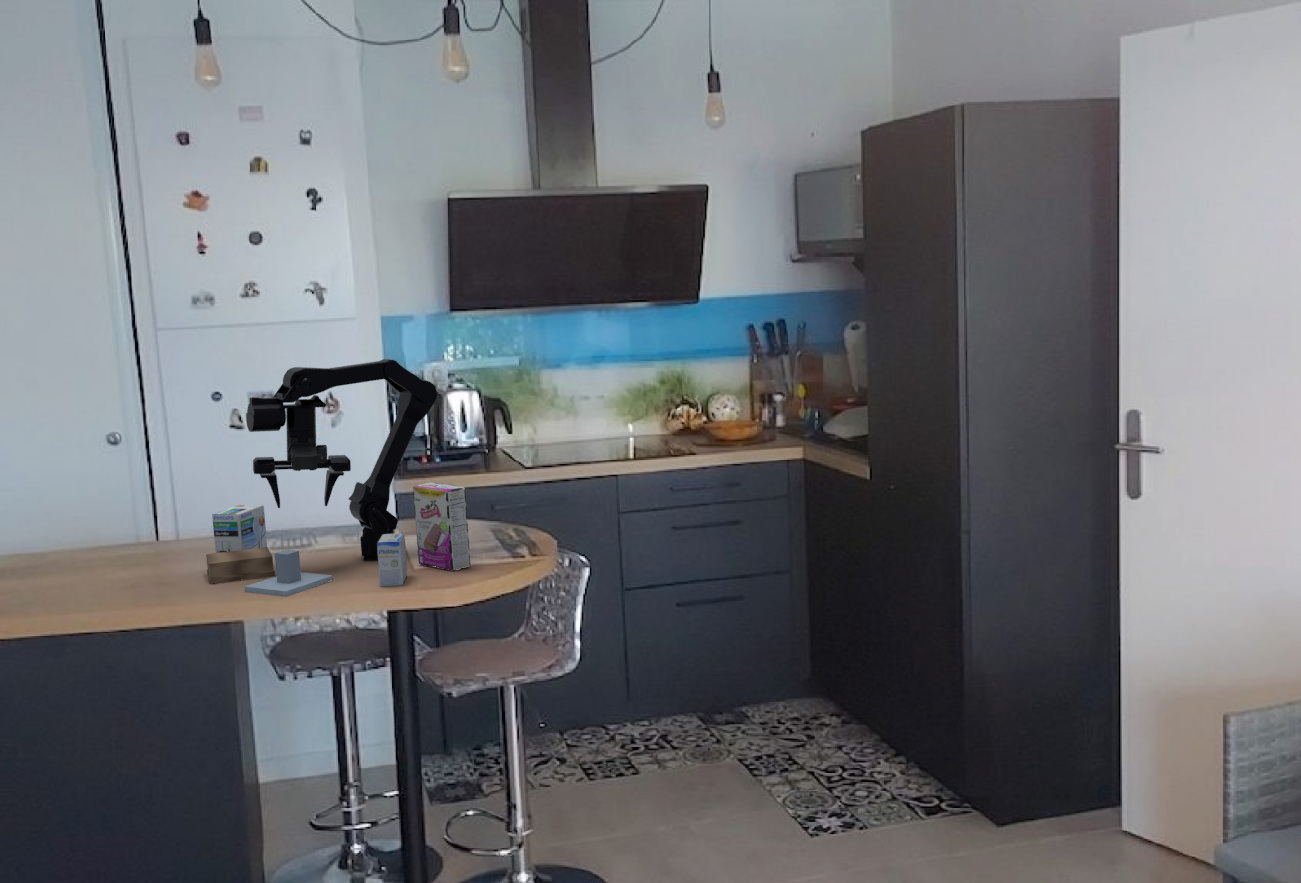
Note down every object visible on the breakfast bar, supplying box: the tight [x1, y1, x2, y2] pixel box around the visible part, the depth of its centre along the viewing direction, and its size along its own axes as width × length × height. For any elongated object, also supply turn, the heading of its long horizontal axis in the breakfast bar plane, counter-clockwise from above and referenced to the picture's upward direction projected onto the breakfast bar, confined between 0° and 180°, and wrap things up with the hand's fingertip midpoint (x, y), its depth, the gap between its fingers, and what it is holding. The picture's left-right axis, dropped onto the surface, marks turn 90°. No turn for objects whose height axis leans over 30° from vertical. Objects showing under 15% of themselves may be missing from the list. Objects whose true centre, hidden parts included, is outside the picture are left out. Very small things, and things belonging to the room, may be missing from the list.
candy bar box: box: [412, 482, 471, 571], centre depth 257 cm, size 11×5×16 cm, turn 48°
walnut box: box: [205, 546, 276, 585], centre depth 259 cm, size 12×10×4 cm
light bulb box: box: [211, 504, 268, 553], centre depth 274 cm, size 11×7×11 cm, turn 168°
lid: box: [244, 549, 334, 598], centre depth 247 cm, size 13×11×7 cm
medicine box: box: [377, 533, 408, 588], centre depth 247 cm, size 8×4×9 cm, turn 5°
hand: (302, 506), depth 260 cm, fingers open, 9 cm apart
